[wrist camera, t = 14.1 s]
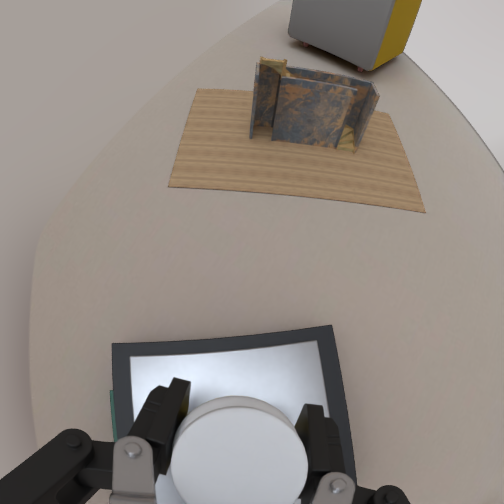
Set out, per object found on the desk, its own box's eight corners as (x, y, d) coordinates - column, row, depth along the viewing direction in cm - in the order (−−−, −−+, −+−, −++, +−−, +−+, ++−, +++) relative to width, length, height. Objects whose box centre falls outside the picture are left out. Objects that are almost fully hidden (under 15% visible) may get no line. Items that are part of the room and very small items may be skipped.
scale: (135, 510, 14) (125, 521, 12) (118, 350, 19) (105, 343, 17) (345, 489, 16) (359, 497, 14) (321, 333, 21) (332, 324, 19)
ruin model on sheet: (168, 186, 26) (151, 95, 18) (197, 88, 34) (195, 19, 25) (425, 212, 28) (477, 147, 19) (388, 113, 35) (414, 55, 27)
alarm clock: (333, 28, 51) (350, -44, 34) (401, 60, 47) (428, -14, 30) (280, 44, 43) (295, -52, 26) (365, 83, 39) (400, -22, 22)
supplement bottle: (181, 405, 15) (141, 404, 8) (266, 389, 16) (300, 374, 8) (201, 484, 13) (180, 545, 6) (285, 467, 14) (336, 512, 6)
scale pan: (150, 512, 12) (148, 516, 11) (132, 357, 17) (128, 355, 16) (336, 492, 14) (340, 495, 13) (313, 342, 18) (317, 339, 17)
